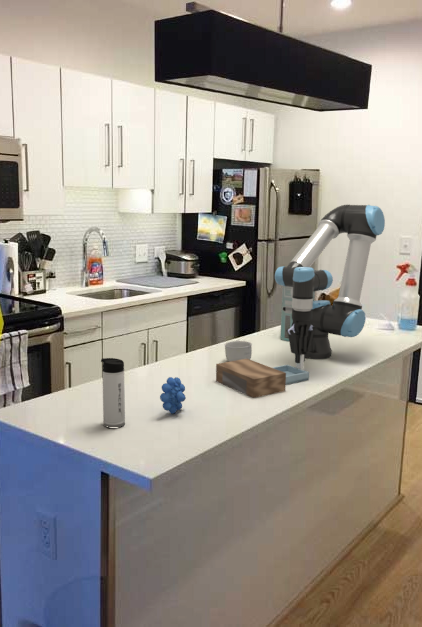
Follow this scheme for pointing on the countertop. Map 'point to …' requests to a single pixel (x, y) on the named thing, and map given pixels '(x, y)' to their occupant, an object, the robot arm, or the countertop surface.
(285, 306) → the device
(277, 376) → the shelf
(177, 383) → the grapes
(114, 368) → the travel mug
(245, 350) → the teacup
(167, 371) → the countertop surface
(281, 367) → the tray
